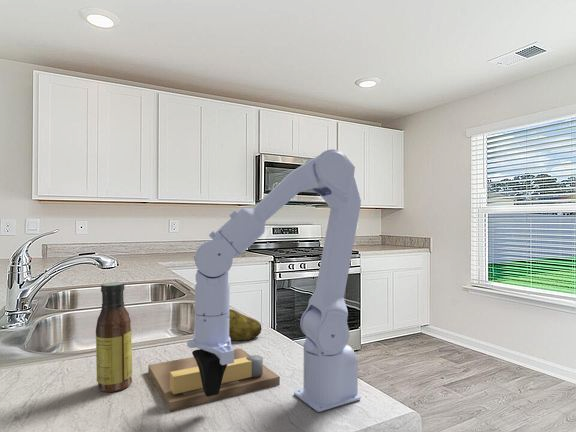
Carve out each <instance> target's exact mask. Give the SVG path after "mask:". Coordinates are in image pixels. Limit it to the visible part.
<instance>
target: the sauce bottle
mask: <svg viewBox="0 0 576 432" xmlns="http://www.w3.org/2000/svg"><path fill="white" fill-rule="evenodd" d="M124 290H125V283H124V282H123V281H108V282H104V283H102V284H101V285H100V292H101V296H102V297H101V299H102V303H101V309H100V313H99V316H98V317H97V321H96V326H95V348H96V349H95V350H96V353H95V354H96V359H95V360H96V361H95V362H96V383H97V387H98V389H99V390H100V391H102V392H106V393H112V392H116V391H123V390H125V389H126V388H128V387H129V386H130V385H131V384H132V383H133V378H132V376H133V350H132V349H133V347H132V346H133V344H132V342H133V341H132V328H131V316H130V313H129V311H127V308H126V307H125V302H124Z"/></svg>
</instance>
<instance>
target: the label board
mask: <svg viewBox="0 0 576 432" xmlns="http://www.w3.org/2000/svg"><path fill="white" fill-rule="evenodd" d="M233 350H234V359H239V358H245V357H248V356H251V355H252V354H251V355H250V353H248V352H246V351H245V350H244V349H243V348H235V349H233ZM147 367H148V374H149V376H150V378H151V379H152V381H153V383H154V385H155V387H156V390H158V393H159V394H160V396H161V398H162V400H163V402H164V403H165V406H166V407H167V409H168V410H169V412H173V411H177V410H181V409H185V408H189V407H194V406H197V405H202V404H205V403H209V402H210V403H211V402H214V401H218V400H221V399H227V398H229V397H230V398H231V397H233V396H238V395H243V394H246V393H251V392H255V391H258V390H264V389H266V388H272V387H275V386H279V385H280V382H281V381H280V380H281V378H280V376H279V375H278V374H277V373H275V372H274V371H273V370H271V369H270V368H268V367H267V366H266V365H264V364H263V374H262V375H260V376H257V377H249V378H244V379H240V380H236V381H231V382H227V383H222V384H221V387H220V391H219V394H217V395H213V396H209V397H207V396H206V395H205V393H204V390H203V388H200V389H196V390H191V391H187V392H182V393H178V394H173V393H172V391H171V390H170V372H172V371H178V370H183V369H188V368H193V367H198V365H197V362H196V360H195V358H194V356H190V357H186V358H179V359H174V360H169V361H164V362H157V363H153V364H148V366H147Z"/></svg>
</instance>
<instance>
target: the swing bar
mask: <svg viewBox="0 0 576 432" xmlns="http://www.w3.org/2000/svg"><path fill="white" fill-rule="evenodd" d="M263 359H264V357H263V356H262V355H259V354H257V355H256V354H253V355H252V354H251V356H248V357H245V358H239V359H234V363H231V364H228V365H227V367H226V369H225V372H224V375H223V378H222V383H227V382H231V381H236V380H240V379H244V378H249V377H257V376H260V375H262V374H263V365H264V364H263V363H264V362H263ZM222 383H221V384H222ZM200 388H203V386H202V381H201V376H200V371H199V368H198V367H193V368H188V369H183V370H178V371H172V372H170V390H171V391H172V393H173V394H178V393H182V392H187V391H191V390H196V389H200Z"/></svg>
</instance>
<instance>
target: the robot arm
mask: <svg viewBox="0 0 576 432" xmlns="http://www.w3.org/2000/svg"><path fill="white" fill-rule="evenodd" d="M355 168H356V167H355V165H354V163H352V161H350V159H349V158H348V156H347V155H346V154H345V153H344V152H342V151H340V150H338V149H334V148H331V149H327V150H324V151H322V152H321V153H320V154H318V155H317V156H314V157H311V158H309V159H307V161H305V162H304V163H303V164H301V165H300V166H298V167H297V168H295V169H294V170H293V171H291V172H290V173H288V174H287V175H286V176H285V177H284V178H282V180H280V182H278V184H276V186H274V187H273V188H272V190H271V191H269V192H268V193H267V194H266V196H264V197H263V198H262V199H261V200H259V202H258V203H257V204H256V205H255V206H254V207H253V208H245V207H244V208H241V209H239V210H238V211H237V210H233V211H232V212H231V213H230V214H229V217H230V218H229V219H228V221H226V223H224V224H223V225H221V226H220V227H219V228H218V229H217V230H216V231H211V232H210V233H209V235H208V236H209V237H210V238H211V240H207V241H204V242H203V243H201V244H200V245H199V246H198V247H197V249H196V251H195V253H194V256H193V257H194V258H193V259H194V263H195V266H196V267H197V270H196V273H195V282H196V284H195V285H194V328H193V339H189V340H187V342H186V344H187V346H188V348H191V349H193V348H197V349H195V350H193V351H192V357H194V358H195V360H196V362H197V365H198V368H199V371H200V376H201V381H202V386H203V390H204V393H205V395H206V396H207V397H209V396H213V395H217V394H219V391H220V387H221V383H222V378H223V375H224V372H225V369H226V367H227V365H228V364H231V363H234V350H235V349H233V348H232V347H233V346H232V341H231V340H232V338H230V337H229V309H230V291H231V290H230V283H229V271H230V270H231V268H232V265H233V260H234V259H235V258H239V257H240V256H241V255H243V253H245V252H246V251H247V249H249V248H250V246H252V245H253V244H254V243H255V242H256V241H258V240H259V238H261V237H262V235H264V234H265V231H266V222H267V221H268V220H269V219H270V218H272V217H273V215H275V214H276V213H277V212H278V211H280V209H282V208H283V207H284V206H285V205H287V203H289V202H290V201H291V200H292V199H293V198H295V197H296V196H297V195H298V194H299V193H302V192H305V191H309V190H311V191H313V192H315V194H317V195H318V196H320V197H321V198H322V199H323V201H324V202H325V203H326V205H327V206H328V207H329V210H330V211H329V216H328V222H327V225H326V226H327V227H326V233H325V238H324V243H323V248H322V253H321V260H320V265H319V270H318V276H317V281H316V284H315V285H316V286H315V291H314V293H312V295H311V296H310V298H309V299H308V305H307V308H306V309H305V310H304V312H303V313H302V315H301V318H300V325H299V326H300V330H301V332H302V334H304V335H305V340H304V344H303V388H300V389H298V390H297V389H296V390H294V392H293V394H294V396H296V397H298V398H299V399H300V400H301V401H303V402H304V403H306V405H308V406H309V407H311V408H312V409H313V410H314V411H315V412H318V413H319V412H320V413H321V412H323V411H327V410H330V409H334V408H336V407H337V408H338V407H340V406H342V405H346V404H347V405H348V404H350V403H353V402H356V401H360V400H361V398H362V397H361V396H360V395H359V393H358V390H359V389H358V385H359V384H358V381H359V380H358V379H359V378H358V376H359V375H358V374H359V372H358V370H359V368H358V367H359V364H358V358H357V355H356V352H355V351H354V348H352V347H351V346H350V345H349V344H348V342H349V340H350V328H349V325H348V318H349V312H348V307H347V305H346V301H345V295H346V294H345V293H346V289H347V288H346V287H347V282H348V277H349V276H348V275H349V272H350V267H351V259H352V255H353V254H352V253H353V249H354V243H355V238H356V234H357V227H358V222H359V221H358V220H359V216H360V212H361V211H360V210H361V203H362V202H361V201H362V200H361V196H360V192H359V189H358V186H357V183H356V179H355V171H356V169H355Z"/></svg>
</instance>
